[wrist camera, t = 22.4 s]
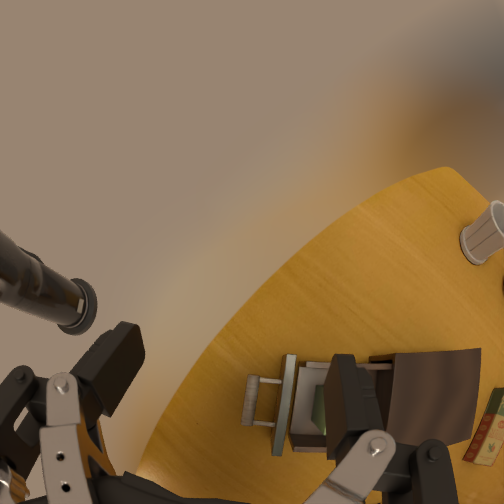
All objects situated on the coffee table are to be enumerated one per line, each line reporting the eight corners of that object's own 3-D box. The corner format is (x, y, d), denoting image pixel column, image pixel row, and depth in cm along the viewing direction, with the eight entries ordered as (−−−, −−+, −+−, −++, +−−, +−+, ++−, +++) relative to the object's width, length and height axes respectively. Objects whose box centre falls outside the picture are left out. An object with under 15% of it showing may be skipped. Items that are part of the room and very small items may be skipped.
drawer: (240, 435, 33) (235, 451, 26) (252, 352, 38) (249, 349, 31) (369, 440, 31) (389, 452, 24) (379, 360, 36) (402, 357, 29)
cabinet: (357, 442, 32) (380, 459, 23) (369, 356, 37) (395, 353, 29) (438, 430, 30) (470, 438, 21) (447, 354, 36) (481, 347, 27)
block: (310, 420, 32) (323, 435, 24) (316, 385, 35) (330, 390, 26) (340, 420, 32) (360, 434, 24) (345, 385, 34) (367, 390, 26)
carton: (461, 459, 26) (473, 463, 22) (493, 387, 31) (506, 386, 27) (480, 464, 24) (492, 467, 20) (510, 396, 29) (522, 395, 25)
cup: (472, 219, 46) (501, 191, 35) (492, 251, 43) (524, 227, 32) (452, 238, 44) (485, 209, 33) (474, 274, 41) (510, 250, 30)
